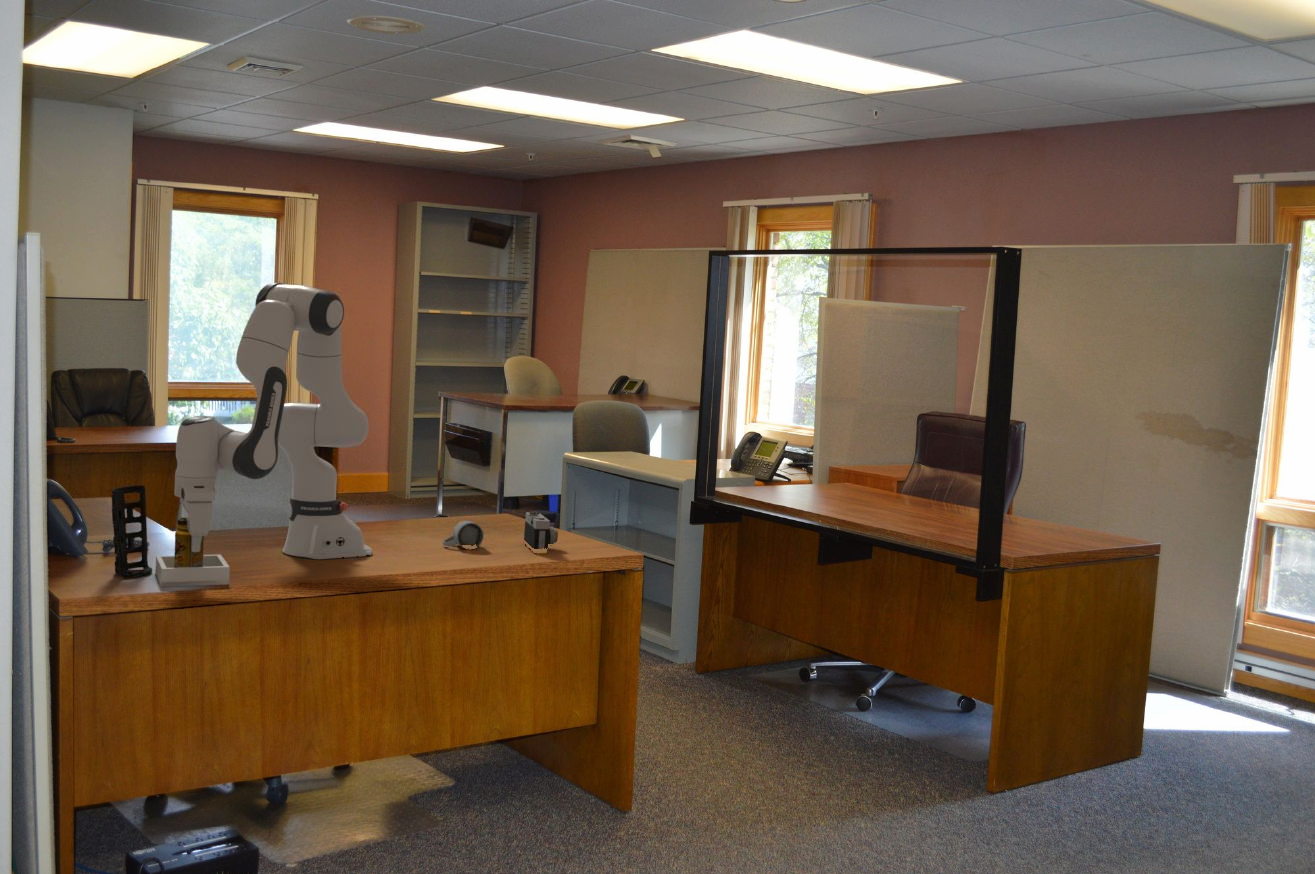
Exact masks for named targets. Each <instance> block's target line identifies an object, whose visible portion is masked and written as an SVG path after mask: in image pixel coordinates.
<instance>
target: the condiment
mask: <svg viewBox="0 0 1315 874" xmlns="http://www.w3.org/2000/svg"><path fill="white" fill-rule="evenodd" d="M176 522H177V525H176V530H175V532H174V533H175V534H174V555H173V556H175V558H174V568H178V567H205V566H203V555H204V544H205V543H204V541H205V540H204V539H205V536H202V540H201V544H200V551H199V552H192V550H191V541H192V537H191V534H190V533H189V531H188V529H187V521H186V519H185V518H181V517H180V518H178V519H177V521H176Z"/></svg>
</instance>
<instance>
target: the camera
mask: <svg viewBox="0 0 1315 874" xmlns="http://www.w3.org/2000/svg"><path fill="white" fill-rule="evenodd" d="M550 522H551V521H550V520H549V519H548V518H547V517H546V516H544V515H542V513H540V512H539V511H529V512H527V511H526V512H525V522H524V532H523V533H524V534H523V541H524V540H525V541H526V542H527V543H528V544H529V545H530V546H531V547H532V548H534V549H543V548H544V549H545V548H546V549H547V548H548V549H549V547H548V544H553V545H554V544H555V543H557V541H558V530H557V529H555V528H554V526H550V524H551V523H550Z"/></svg>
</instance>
